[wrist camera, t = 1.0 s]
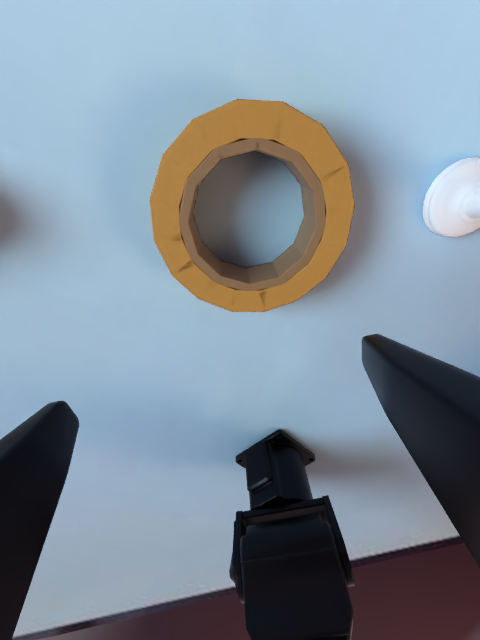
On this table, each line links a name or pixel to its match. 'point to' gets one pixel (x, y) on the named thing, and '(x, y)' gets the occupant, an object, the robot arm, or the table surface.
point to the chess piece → (454, 199)
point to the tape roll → (306, 166)
